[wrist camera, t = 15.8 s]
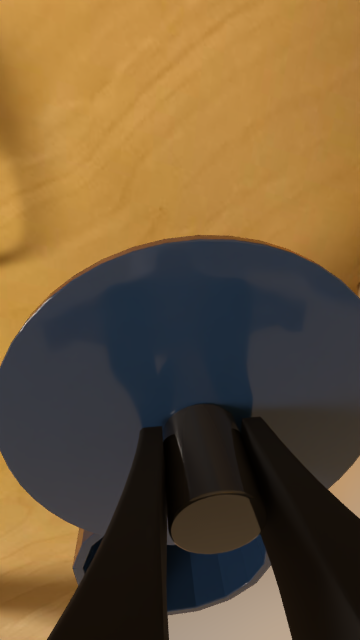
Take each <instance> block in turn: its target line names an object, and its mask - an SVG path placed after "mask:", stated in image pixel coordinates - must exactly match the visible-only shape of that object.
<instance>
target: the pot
mask: <svg viewBox="0 0 360 640" xmlns="http://www.w3.org/2000/svg"><path fill="white" fill-rule="evenodd" d="M103 537H104V536H101V535H98V534H95V533H92V532H89V531H86V530H83V529H81V528H79V532H78V538H77V544H76V550H75V556H74V562H73V571H74V574H75V577H76V580H77V583H78V586H79V584H80V582H81V580H82V578H83V576H84V575H85V573H86V571H87V569H88V567H89V565H90V563H91V561H92V559H93V557H94V555H95V553H96V551H97V549H98V547H99V545H100V543H101V541H102V539H103ZM270 566H271V563H270V560H269V557H268V554H267V552H266V549H265V546H264V543H263V540H262V537H261V535H260V534H259V535H258V536H257V537H256V538H255V539H253V540H252V541H251V542H249V543H247V544H246V545H244V546H242V547H240V548H237V549H234V550H231V551H228V552H224V553H218V554H199V553H193V552H189V551H186V550H184V549H182V548H180V547H179V546H177V545H167V574H166V590H167V615H173V614H179V613H187V612H194V611H199V610H202V609H205V608H208V607H210V606H213V605H216V604H219V603H222V602H225V601H228V600H229V599H232V598H233V597H235V596H237V595H238V594H240V593H241V592H243V591H244V590H246V589H248V588H249V587H251V586H253V585H254V584H255V583H257V582H258V580H259V579H260V578H261V577H262V576H263V574H264V573H265V572H266V571H267V569H268V568H269V567H270Z"/></svg>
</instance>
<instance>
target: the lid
mask: <svg viewBox="0 0 360 640" xmlns="http://www.w3.org/2000/svg"><path fill="white" fill-rule="evenodd" d="M250 417H261V418H262V419H263V420H264V421H265V422H266V423H267V424H268V426H269V427H270V428H271V429H272V430H273V432H274V433H275V434H276V435H277V436H278V437H279V439H280V440H281V441H282V442H283V443H284V444H285V445H286V447H287V448H288V449H289V450H290V451H291V452H292V453H293V454H294V455H295V457H296V458H297V459H298V460H299V461H300V462H301V463H302V464H303V465H304V466H305V467H306V468H307V469H308V470H309V471H310V472H311V473H312V474H313V475H314V476H315V477H316V479H317V480H318V481H319V482H320V483H321V484H322V485H324V486H325V487H326V488H327V489H329V488H330V487H331V486H332V485H333V484H334V483H335V482H336V481H337V480H339V479H340V478H341V477H342V476H343V474H344V473H345V472H346V471H347V470H348V469H349V468H350V467H351V466H352V465H353V464H354V462H355V461H356V460H357V458H358V457H359V456H360V298H359V297H358V296H357V295H356V294H355V293H354V292H353V291H352V290H351V289H350V288H349V287H348V286H347V285H346V284H345V283H344V282H343V281H342V280H340V279H339V278H337V277H336V276H335V275H333V274H332V273H330V272H329V271H327V270H326V269H324V268H323V267H322V266H320V265H319V264H317V263H315V262H314V261H312V260H310V259H308V258H306V257H304V256H302V255H300V254H297V253H295V252H293V251H291V250H289V249H286V248H283V247H280V246H277V245H273V244H270V243H267V242H263V241H260V240H254V239H247V238H241V237H234V236H215V235H195V236H186V237H178V238H169V239H163V240H159V241H155V242H151V243H147V244H143V245H139V246H135V247H132V248H129V249H127V250H124V251H122V252H119V253H117V254H114V255H112V256H109V257H107V258H104V259H102V260H100V261H98V262H97V263H95V264H93V265H91V266H90V267H88V268H86V269H84V270H83V271H81V272H79V273H77V274H75V275H74V276H73V277H71V278H70V279H69V280H68V281H66V282H65V283H64V284H62V285H61V286H60V287H58V288H57V289H56V290H55V291H53V292H52V293H51V294H50V295H49V296H48V297H47V298H46V299H45V300H44V301H43V302H42V303H41V304H40V305H39V306H38V307H37V308H36V309H35V310H34V311H33V312H32V314H31V315H30V316H29V318H28V319H27V321H26V322H25V324H24V325H23V326H22V328H21V329H20V331H19V332H18V334H17V335H16V336H15V338H14V339H13V341H12V342H11V344H10V346H9V349H8V351H7V353H6V355H5V357H4V359H3V361H2V363H1V366H0V451H1V454H2V456H3V458H4V460H5V462H6V464H7V466H8V468H9V470H10V471H11V472H12V474H13V475H14V477H15V478H16V479H17V481H18V482H19V484H20V485H21V486H22V487H23V488H24V489H25V490H26V491H27V492H28V493H29V494H30V495H31V497H32V498H33V499H35V500H36V501H37V502H38V503H40V504H41V505H42V506H43V507H45V508H46V509H47V510H48V511H50V512H51V513H53V514H55V515H56V516H58V517H60V518H61V519H63V520H65V521H66V522H68V523H71V524H73V525H75V526H77V527H79V528H81V529H83V530H86V531H89V532H92V533H95V534H98V535H101V536H104V535H105V533H106V530H107V528H108V526H109V524H110V522H111V519H112V517H113V514H114V512H115V509H116V507H117V505H118V502H119V500H120V497H121V495H122V492H123V490H124V487H125V484H126V481H127V478H128V475H129V472H130V469H131V466H132V463H133V460H134V456H135V453H136V449H137V444H138V439H139V433H140V430H141V429H142V428H146V427H156V426H162V433H163V447H164V461H165V489H166V504H167V545H177V546H179V547H180V548H182V549H184V550H186V551H189V552H193V553H199V554H218V553H224V552H228V551H231V550H234V549H237V548H240V547H242V546H244V545H246V544H247V543H249V542H251V541H252V540H253V539H255V538H256V537H257V536H258V535H259V534H260V533H261V532H262V530H263V529H264V527H265V525H266V523H267V515H268V513H267V508H266V505H265V502H264V500H263V497H262V494H261V491H260V488H259V485H258V482H257V480H256V477H255V474H254V471H253V468H252V465H251V462H250V459H249V457H248V454H247V451H246V448H245V445H244V442H243V439H242V436H241V423H242V418H250Z"/></svg>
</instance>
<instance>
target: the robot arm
mask: <svg viewBox="0 0 360 640" xmlns="http://www.w3.org/2000/svg"><path fill="white" fill-rule="evenodd" d="M241 436H242V439H243V442H244V445H245V448H246V451H247V454H248V457H249V459H250V462H251V465H252V468H253V471H254V474H255V477H256V480H257V482H258V485H259V488H260V491H261V494H262V497H263V500H264V502H265V505H266V508H267V513H268V515H267V523H266V525H265V527H264V529H263V530H262V532H261V533H260V535H261V537H262V540H263V543H264V546H265V549H266V552H267V554H268V557H269V560H270V563H271V566H272V568H273V571H274V575H275V578H276V581H277V584H278V587H279V590H280V594H281V598H282V602H283V606H284V610H285V613H286V617H287V621H288V624H289V628H290V632H291V636H292V640H360V519H359V518H358V517H357V516H356V515H355V514H354V513H353V512H351V511H350V510H349V509H348V508H347V507H346V506H345V505H344V504H342V503H341V502H340V501H339V500H338V499H337V498H336V497H335V496H334V495H333V494H332V493H331V492H330V491H329V490H328V489H327V488H326V487H325V486H324V485H322V484H321V483H320V482H319V481H318V480H317V479H316V477H315V476H314V475H313V474H312V473H311V472H310V471H309V470H308V469H307V468H306V467H305V466H304V465H303V464H302V463H301V462H300V461H299V460H298V459H297V458H296V457H295V455H294V454H293V453H292V452H291V451H290V450H289V449H288V448H287V447H286V445H285V444H284V443H283V442H282V441H281V440H280V439H279V437H278V436H277V435H276V434H275V433H274V432H273V430H272V429H271V428H270V427H269V426H268V424H267V423H266V422H265V421H264V420H263V419H262V418H261V417H250V418H242V423H241ZM166 574H167V504H166V489H165V461H164V447H163V433H162V426H156V427H146V428H142V429H141V430H140V433H139V439H138V444H137V449H136V453H135V456H134V460H133V463H132V466H131V469H130V472H129V475H128V478H127V481H126V484H125V487H124V490H123V492H122V495H121V497H120V500H119V502H118V505H117V507H116V509H115V512H114V514H113V517H112V519H111V522H110V524H109V526H108V528H107V530H106V533H105V535H104V537H103V539H102V541H101V543H100V545H99V547H98V549H97V551H96V553H95V555H94V557H93V559H92V561H91V563H90V565H89V567H88V569H87V571H86V573H85V575H84V576H83V578H82V580H81V582H80V584H79V586H78V588H77V590H76V591H75V593H74V595H73V597H72V598H71V600H70V602H69V604H68V605H67V607H66V609H65V611H64V612H63V614H62V616H61V617H60V619H59V620H58V622H57V624H56V625H55V627H54V629H53V630H52V632H51V634H50V635H49V637H48V639H47V640H169V634H168V616H167V590H166Z"/></svg>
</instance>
